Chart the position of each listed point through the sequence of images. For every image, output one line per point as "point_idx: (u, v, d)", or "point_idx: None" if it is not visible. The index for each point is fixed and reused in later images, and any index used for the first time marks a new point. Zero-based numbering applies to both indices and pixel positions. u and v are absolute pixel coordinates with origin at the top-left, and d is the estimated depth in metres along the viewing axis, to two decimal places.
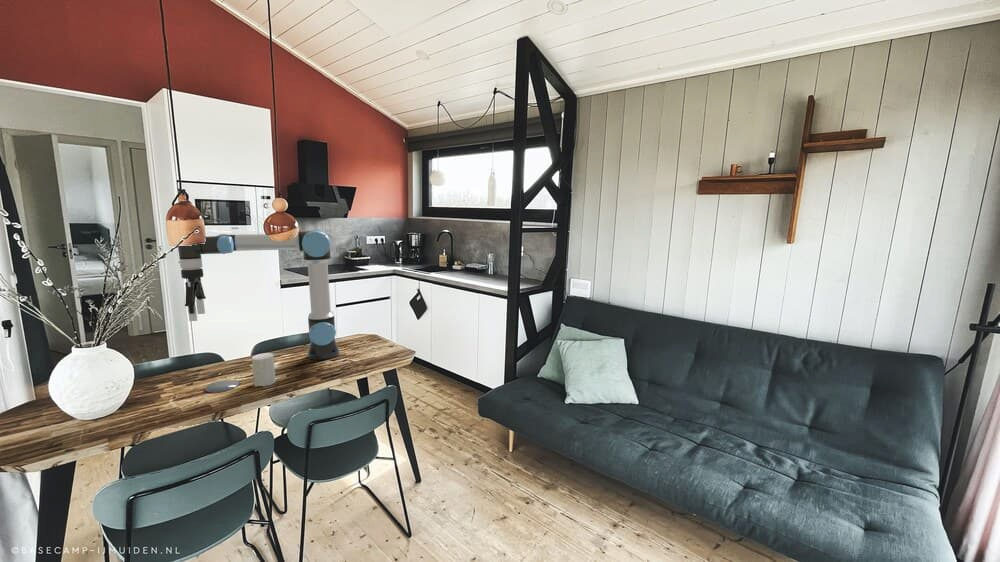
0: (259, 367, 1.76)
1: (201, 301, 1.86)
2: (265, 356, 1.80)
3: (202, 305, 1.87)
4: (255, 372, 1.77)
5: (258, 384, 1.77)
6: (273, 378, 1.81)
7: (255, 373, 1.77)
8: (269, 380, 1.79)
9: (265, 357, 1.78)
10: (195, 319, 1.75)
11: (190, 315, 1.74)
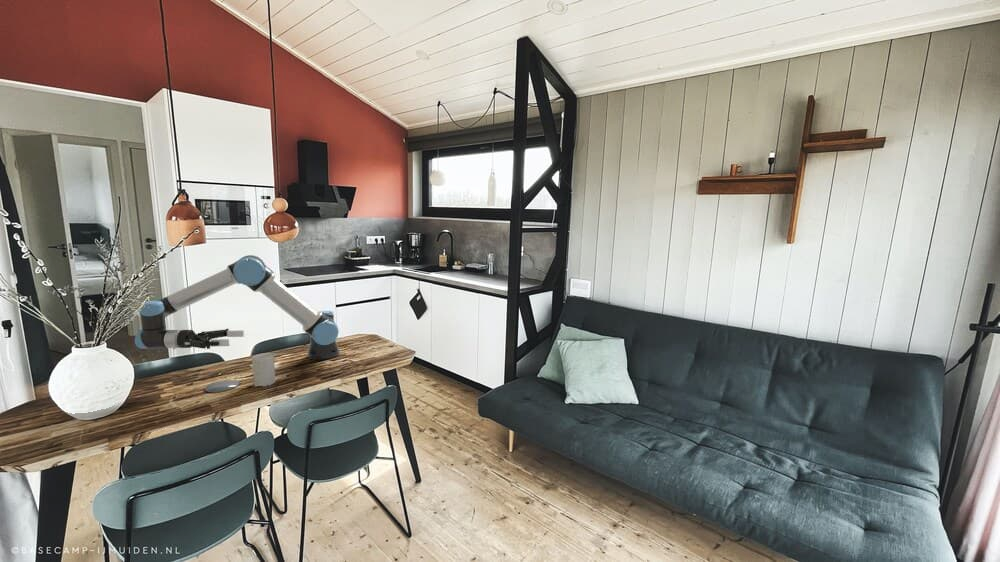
0: (259, 367, 1.76)
1: (229, 332, 1.82)
2: (265, 356, 1.80)
3: (233, 332, 1.83)
4: (255, 372, 1.77)
5: (258, 384, 1.77)
6: (273, 378, 1.81)
7: (255, 373, 1.77)
8: (269, 380, 1.79)
9: (265, 357, 1.78)
10: (226, 341, 1.70)
11: (221, 344, 1.70)
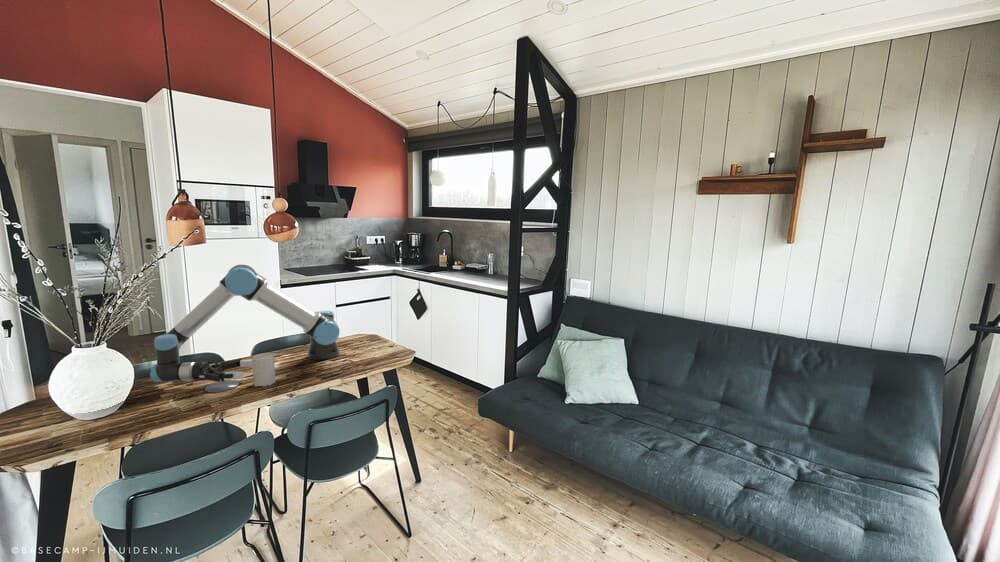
0: (259, 367, 1.76)
1: (242, 362, 1.85)
2: (265, 356, 1.80)
3: (246, 362, 1.85)
4: (255, 372, 1.77)
5: (258, 384, 1.77)
6: (273, 378, 1.81)
7: (255, 373, 1.77)
8: (269, 380, 1.79)
9: (265, 357, 1.78)
10: (240, 373, 1.72)
11: (235, 377, 1.72)
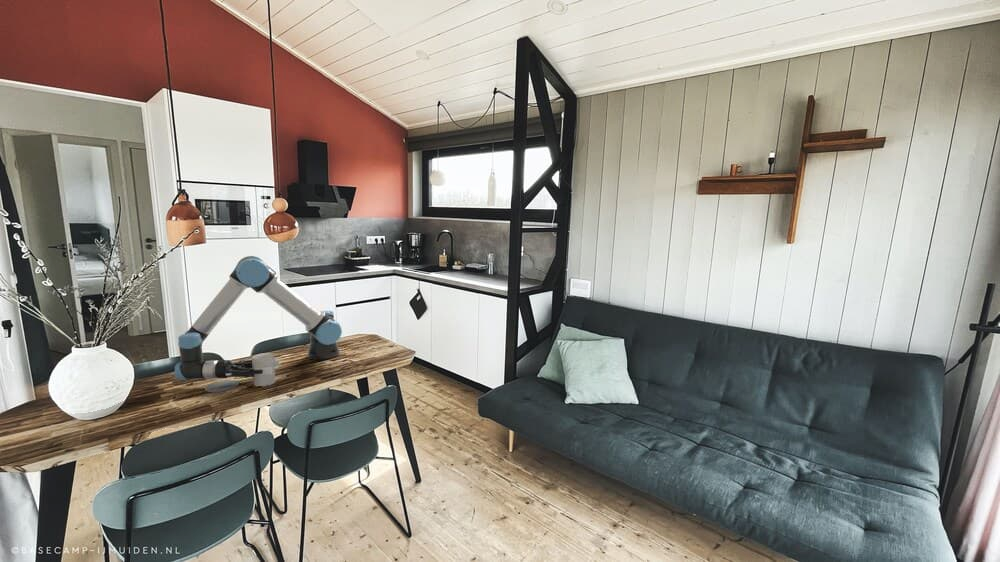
0: (259, 367, 1.76)
1: None
2: (265, 356, 1.80)
3: None
4: None
5: (258, 384, 1.77)
6: (273, 378, 1.81)
7: None
8: (269, 380, 1.79)
9: (265, 357, 1.78)
10: (269, 369, 1.76)
11: (265, 372, 1.76)
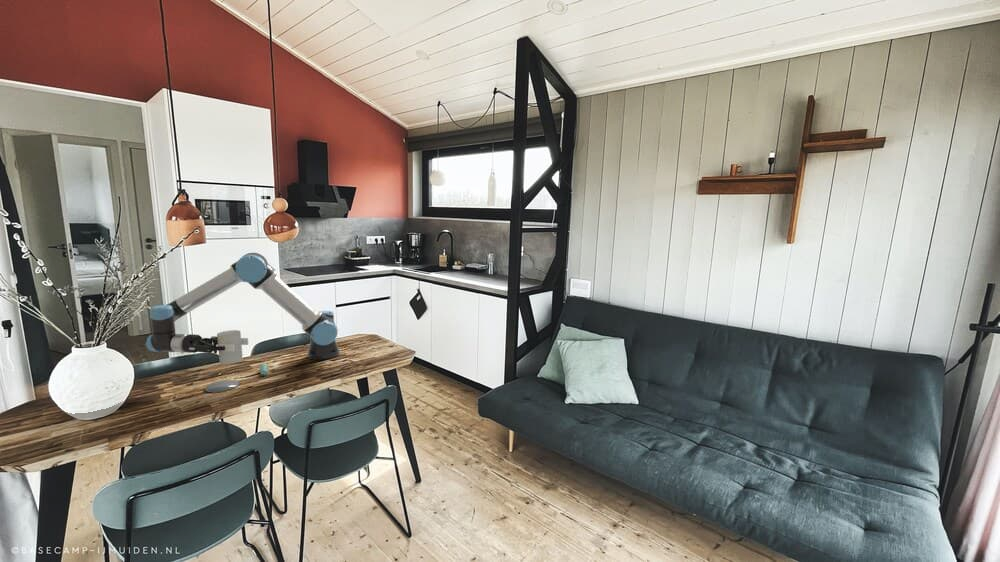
0: (222, 343, 1.70)
1: None
2: (231, 332, 1.74)
3: None
4: None
5: (222, 361, 1.72)
6: (238, 356, 1.74)
7: None
8: (233, 358, 1.73)
9: (230, 334, 1.72)
10: (231, 346, 1.70)
11: (227, 349, 1.70)
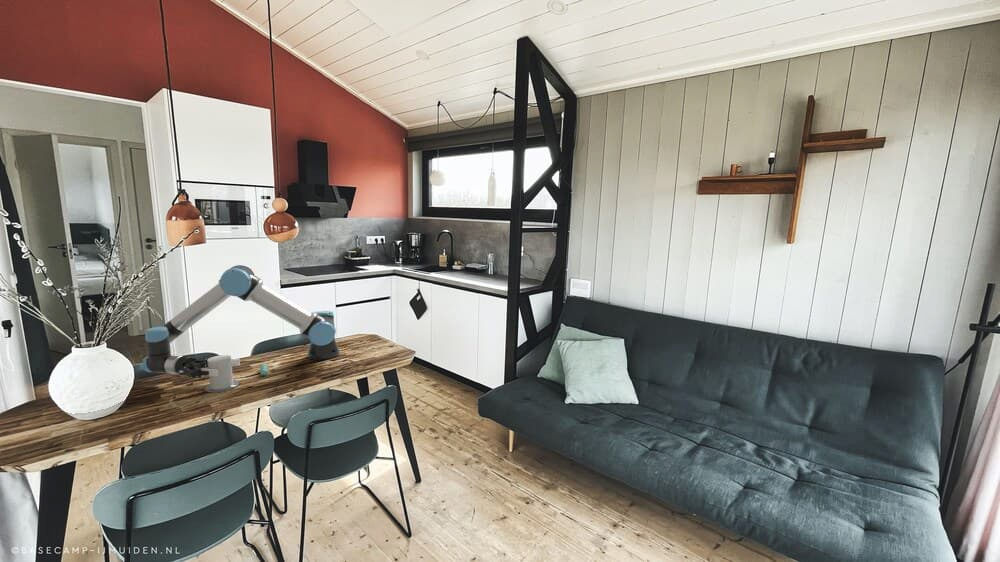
0: None
1: None
2: (221, 358, 1.75)
3: None
4: None
5: (212, 387, 1.73)
6: (228, 382, 1.75)
7: None
8: (223, 383, 1.74)
9: (219, 359, 1.73)
10: (215, 371, 1.69)
11: (211, 374, 1.69)
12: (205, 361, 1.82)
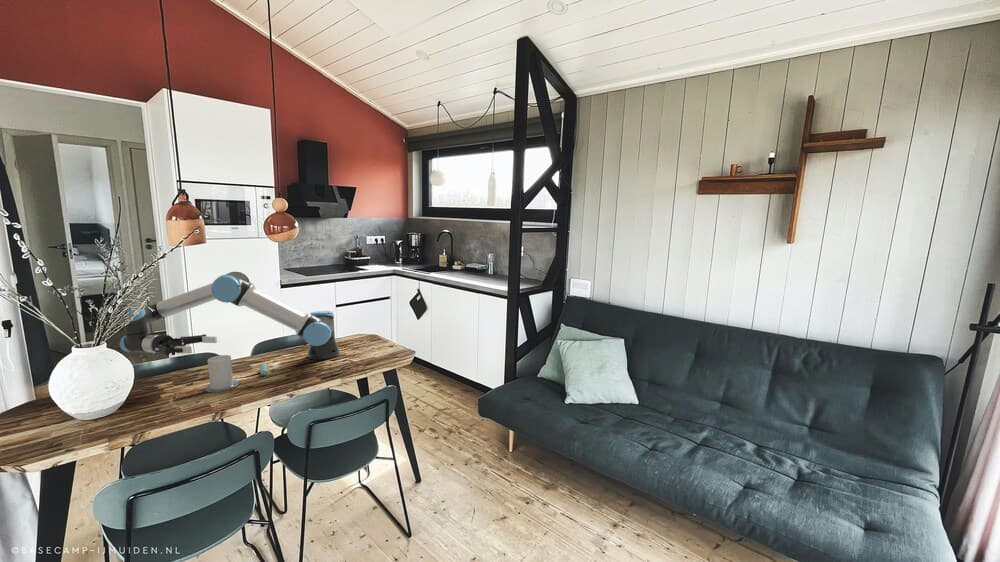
0: (212, 369, 1.72)
1: (203, 338, 1.85)
2: (221, 358, 1.75)
3: (207, 338, 1.85)
4: (209, 374, 1.73)
5: (212, 386, 1.73)
6: (228, 382, 1.75)
7: (209, 375, 1.73)
8: (223, 383, 1.74)
9: (219, 359, 1.73)
10: (188, 348, 1.71)
11: (184, 351, 1.72)
12: (182, 340, 1.85)
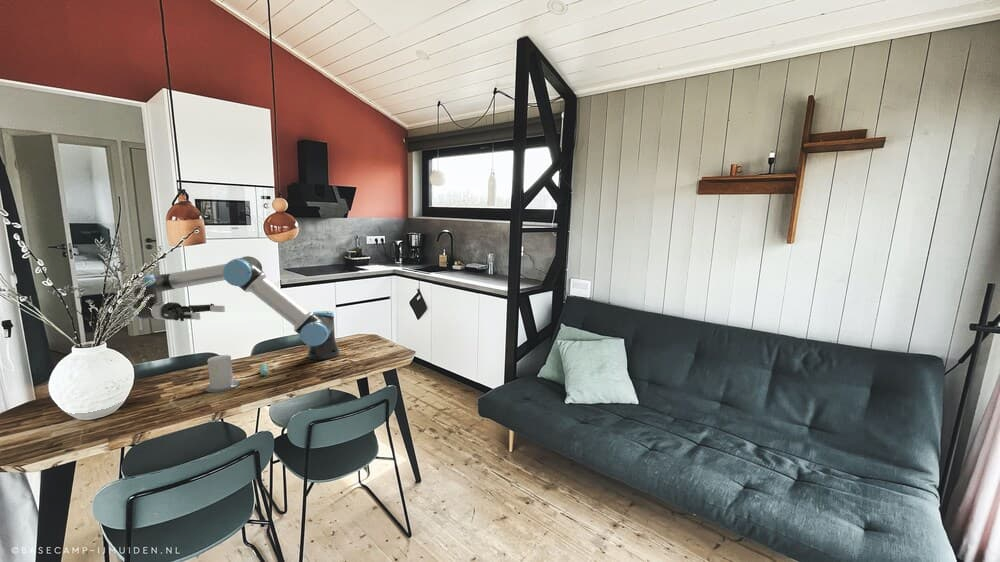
0: (212, 369, 1.72)
1: (211, 307, 1.88)
2: (221, 358, 1.75)
3: (215, 307, 1.88)
4: (209, 374, 1.73)
5: (212, 387, 1.73)
6: (228, 382, 1.75)
7: (209, 375, 1.73)
8: (223, 383, 1.74)
9: (219, 359, 1.73)
10: (197, 314, 1.74)
11: (193, 317, 1.75)
12: (191, 308, 1.88)
